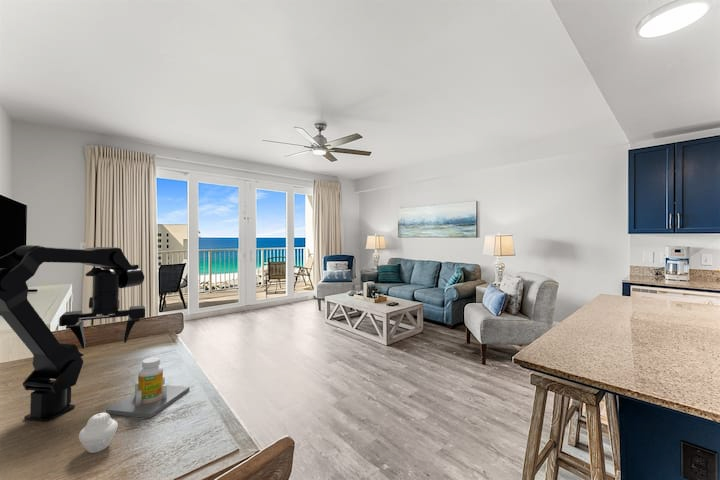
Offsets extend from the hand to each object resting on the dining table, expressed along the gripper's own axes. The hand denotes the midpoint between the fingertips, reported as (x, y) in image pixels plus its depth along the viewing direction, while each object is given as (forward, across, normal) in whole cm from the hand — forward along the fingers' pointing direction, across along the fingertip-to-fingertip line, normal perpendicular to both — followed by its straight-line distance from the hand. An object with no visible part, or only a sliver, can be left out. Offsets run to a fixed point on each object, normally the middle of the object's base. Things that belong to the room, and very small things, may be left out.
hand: (105, 345), depth 89 cm
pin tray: (+12, -11, +16) cm, 23 cm away
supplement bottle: (+11, -11, +16) cm, 22 cm away
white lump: (+12, -2, +32) cm, 35 cm away
